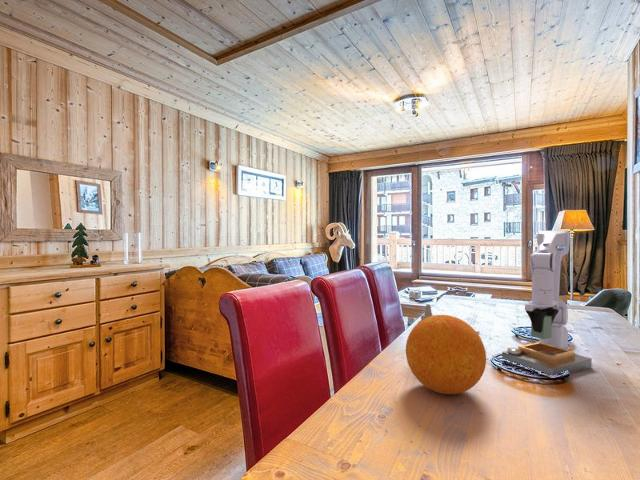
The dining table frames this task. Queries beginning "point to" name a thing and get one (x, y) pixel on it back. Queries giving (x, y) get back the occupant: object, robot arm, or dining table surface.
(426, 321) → the decorative sphere
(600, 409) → the dining table surface
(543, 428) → the dining table surface
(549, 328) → the spout tin
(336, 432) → the dining table surface
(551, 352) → the grey framed base plate
